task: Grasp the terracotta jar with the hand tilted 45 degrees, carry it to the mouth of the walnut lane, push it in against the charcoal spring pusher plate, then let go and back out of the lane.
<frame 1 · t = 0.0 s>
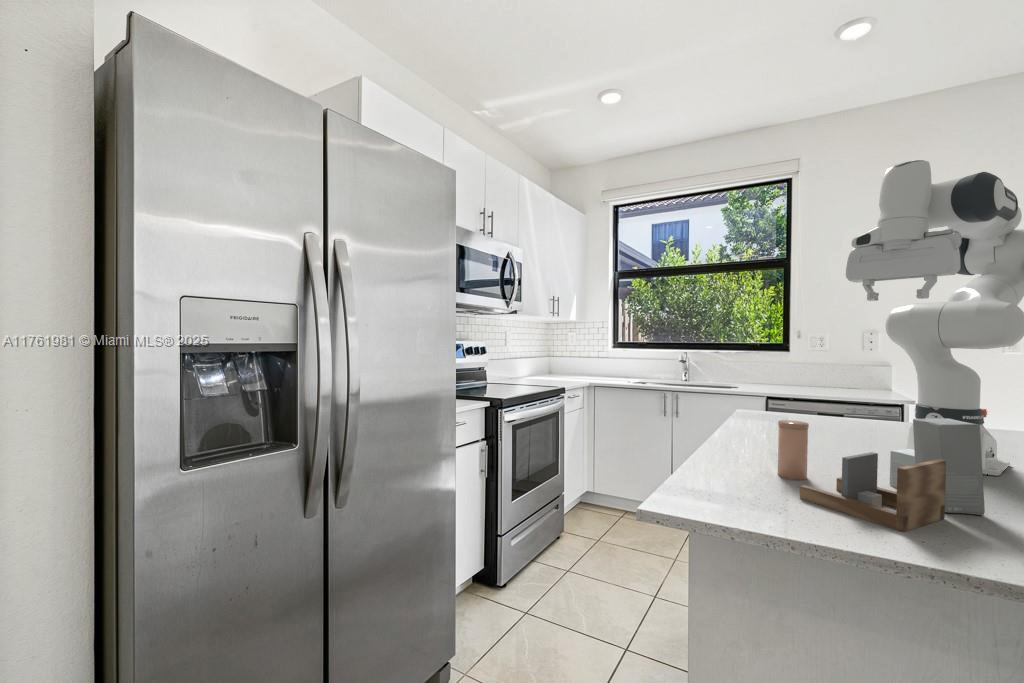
hand: (896, 299, 106), 39 cm above the countertop, tool pointing down, fingers open, 8 cm apart
lane: (868, 508, 88), on the countertop
skincare box 2: (914, 489, 100), on the countertop
jar: (792, 476, 107), on the countertop
skincare box: (945, 507, 89), on the countertop
pusher: (866, 481, 88), point 5 cm above the countertop, slide at 0.0 cm
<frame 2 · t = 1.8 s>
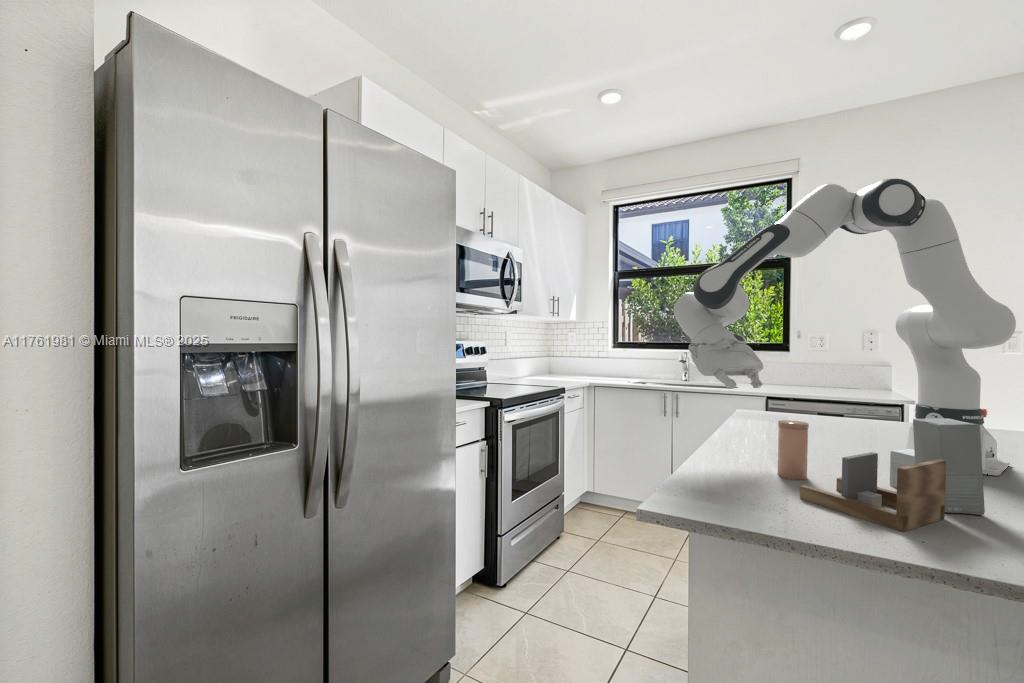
hand: (746, 387, 117), 18 cm above the countertop, tool tilted 45°, fingers open, 8 cm apart
nothing on the countertop moved.
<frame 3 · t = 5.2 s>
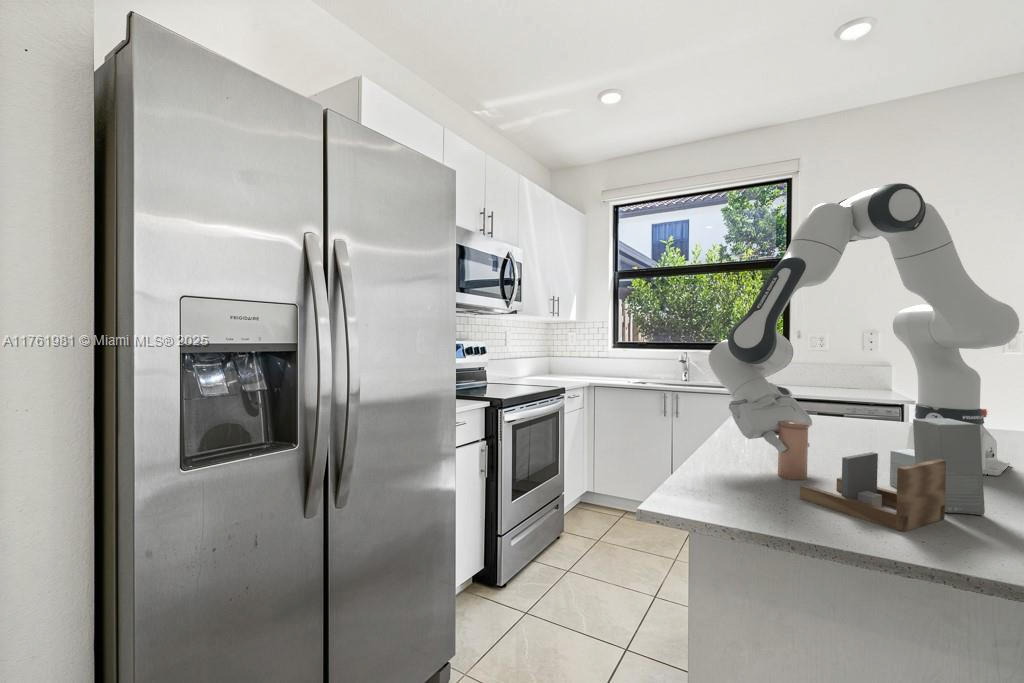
hand: (795, 449, 107), 6 cm above the countertop, tool tilted 45°, fingers closed on jar, 6 cm apart
jar: (792, 476, 107), on the countertop, touching gripper
everything else where it was.
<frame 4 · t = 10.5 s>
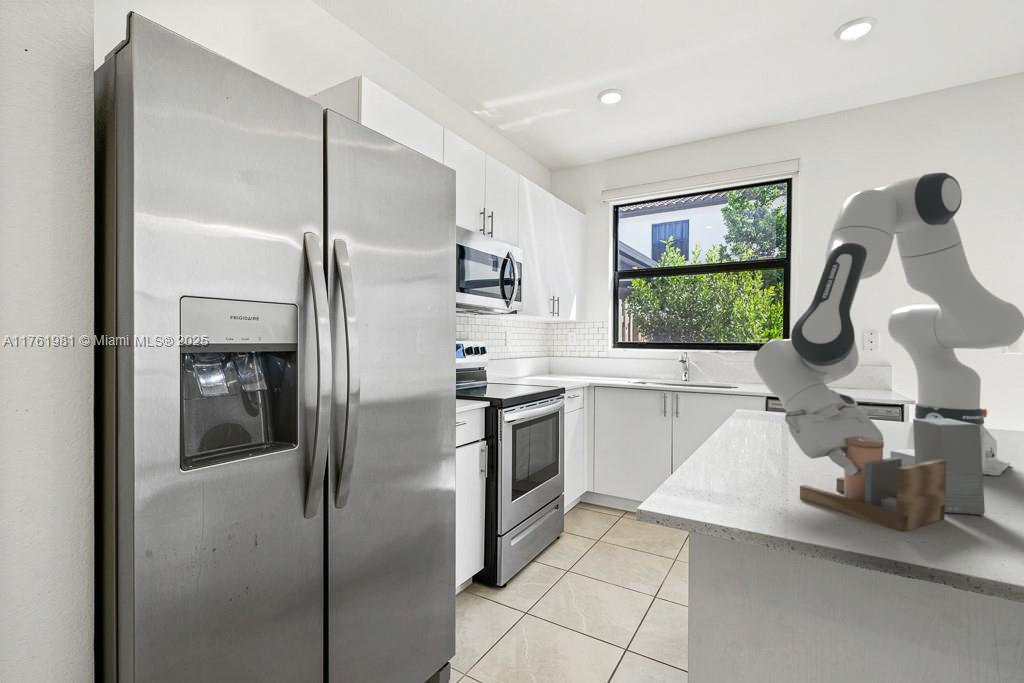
hand: (867, 471, 88), 7 cm above the countertop, tool tilted 45°, fingers closed on jar, 5 cm apart
jar: (862, 504, 89), resting in lane, touching gripper, pusher
pusher: (891, 487, 85), point 5 cm above the countertop, slide at 3.8 cm, touching jar
everything else where it was.
when the fingers open (7 cm above the countertop, at t = 10.8 s): jar stays where it is, resting in lane.
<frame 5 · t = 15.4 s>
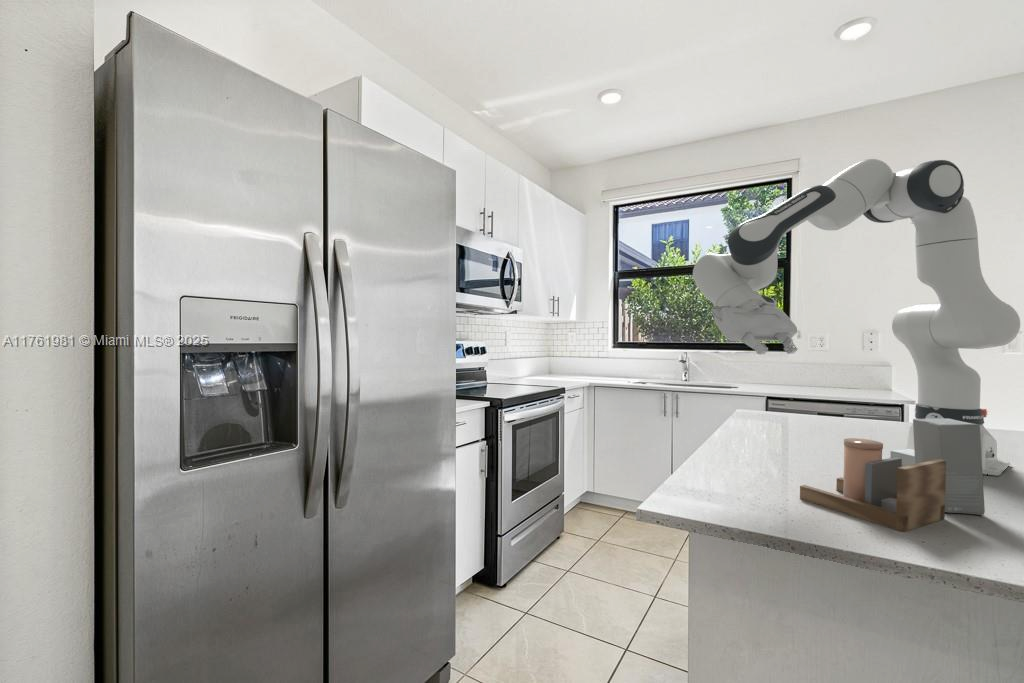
hand: (779, 352, 104), 27 cm above the countertop, tool tilted 45°, fingers open, 8 cm apart
jar: (861, 506, 89), resting in lane
pusher: (891, 487, 85), point 5 cm above the countertop, slide at 3.9 cm
everything else where it was.
at the end: jar inside the target area (0.8 cm from its centre), resting in lane; jar tilted 0°; pusher slide at 3.9 cm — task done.
